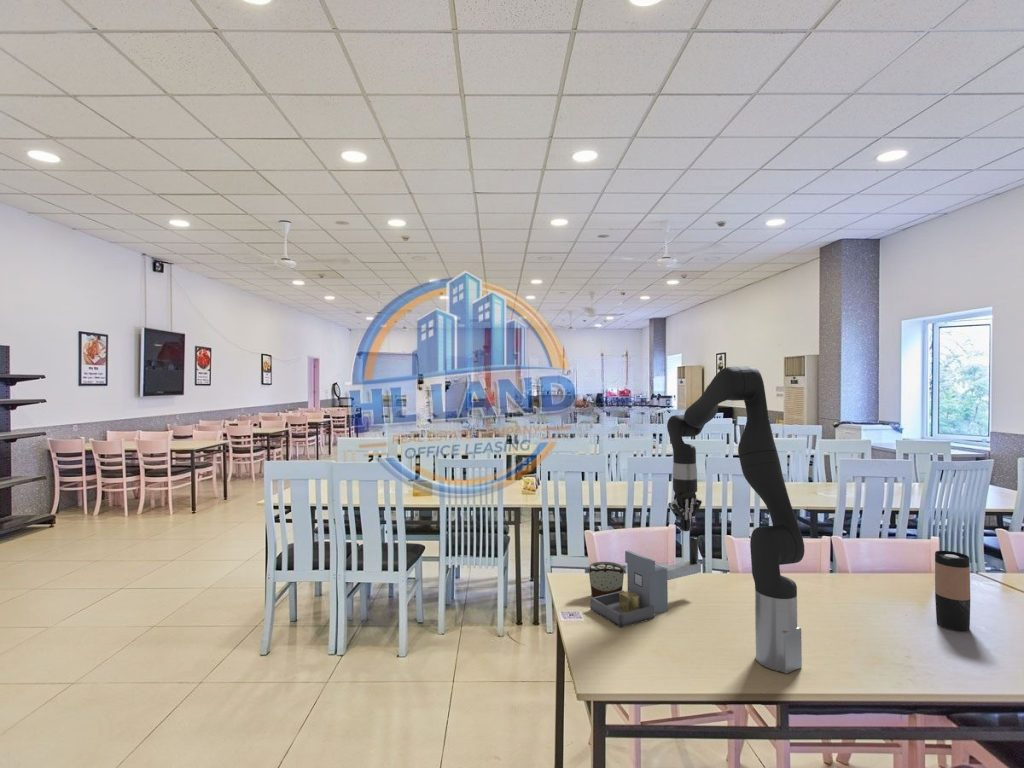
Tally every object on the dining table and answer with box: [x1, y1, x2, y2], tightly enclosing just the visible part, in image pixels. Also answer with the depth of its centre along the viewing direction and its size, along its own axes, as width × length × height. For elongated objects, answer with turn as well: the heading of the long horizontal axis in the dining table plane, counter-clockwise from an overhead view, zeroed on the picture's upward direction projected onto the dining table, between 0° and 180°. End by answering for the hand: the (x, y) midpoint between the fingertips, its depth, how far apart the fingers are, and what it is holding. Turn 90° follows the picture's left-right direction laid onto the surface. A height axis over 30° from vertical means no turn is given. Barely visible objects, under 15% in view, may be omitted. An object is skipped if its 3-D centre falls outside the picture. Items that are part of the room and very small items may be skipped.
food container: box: [586, 561, 627, 598], centre depth 172 cm, size 12×6×10 cm, turn 84°
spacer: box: [619, 590, 639, 612], centre depth 159 cm, size 4×4×4 cm
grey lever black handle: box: [635, 536, 702, 586], centre depth 166 cm, size 3×25×11 cm, turn 118°
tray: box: [590, 590, 655, 629], centre depth 157 cm, size 14×13×4 cm
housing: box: [624, 550, 669, 615], centre depth 162 cm, size 12×7×16 cm, turn 28°
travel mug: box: [934, 550, 971, 633], centre depth 148 cm, size 8×8×20 cm
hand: (685, 530), depth 170 cm, fingers closed
